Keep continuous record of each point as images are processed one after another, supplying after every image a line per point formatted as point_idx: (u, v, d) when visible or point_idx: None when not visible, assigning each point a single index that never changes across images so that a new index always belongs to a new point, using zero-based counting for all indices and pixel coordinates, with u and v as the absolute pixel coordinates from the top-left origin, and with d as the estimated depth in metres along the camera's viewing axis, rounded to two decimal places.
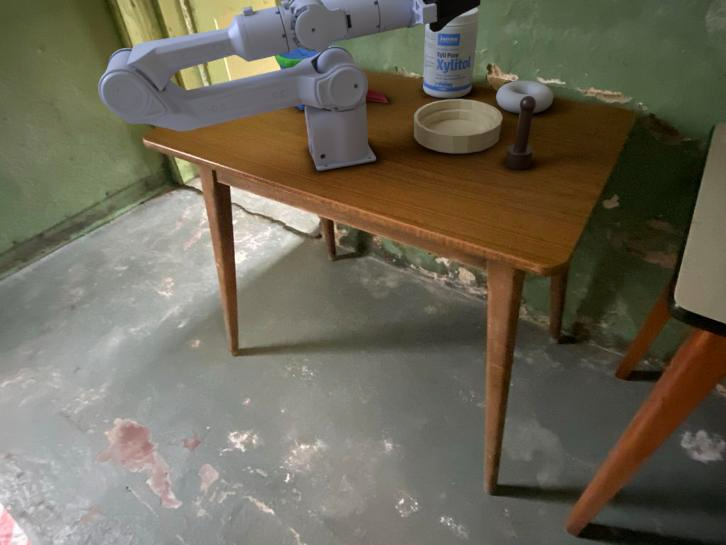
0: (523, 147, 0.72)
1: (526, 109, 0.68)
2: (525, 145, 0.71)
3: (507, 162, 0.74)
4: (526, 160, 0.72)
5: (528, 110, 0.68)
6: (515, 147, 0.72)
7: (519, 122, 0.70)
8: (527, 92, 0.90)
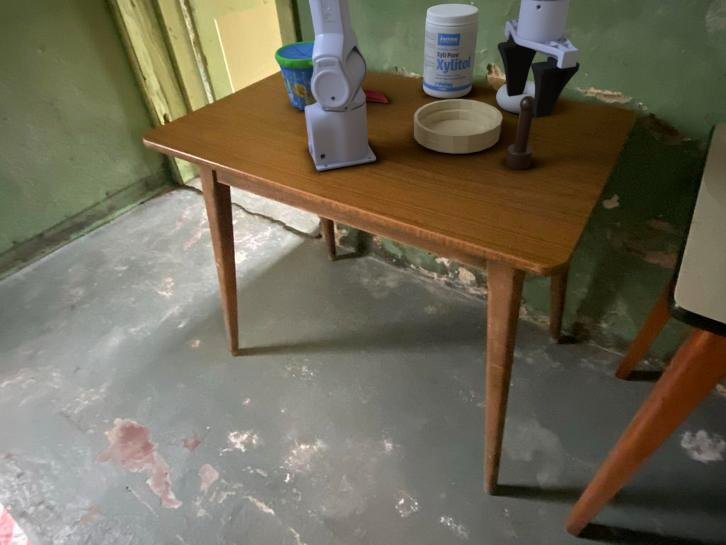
0: (523, 147, 0.72)
1: (526, 109, 0.68)
2: (525, 145, 0.71)
3: (507, 162, 0.74)
4: (526, 160, 0.72)
5: (528, 110, 0.68)
6: (515, 147, 0.72)
7: (519, 122, 0.70)
8: (527, 92, 0.90)
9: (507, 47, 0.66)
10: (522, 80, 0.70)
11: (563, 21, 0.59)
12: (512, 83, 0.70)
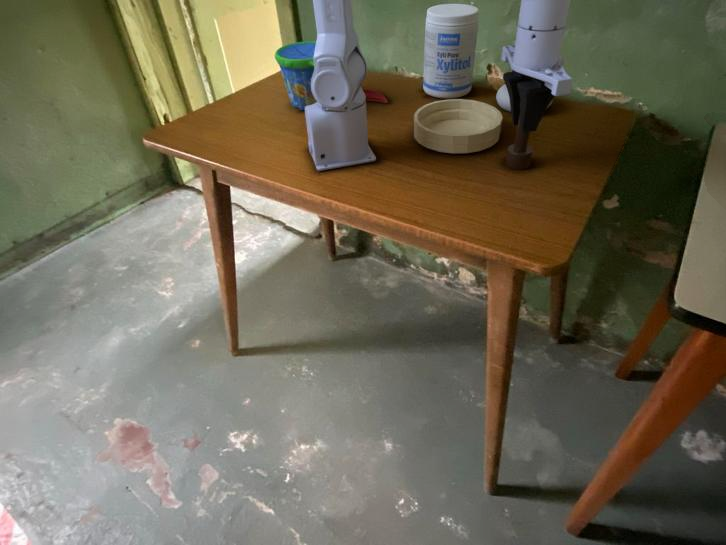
0: (523, 147, 0.72)
1: None
2: (525, 145, 0.71)
3: (507, 162, 0.74)
4: (526, 160, 0.72)
5: None
6: (515, 147, 0.72)
7: (519, 122, 0.70)
8: None
9: (512, 77, 0.67)
10: None
11: (557, 50, 0.61)
12: (517, 112, 0.70)
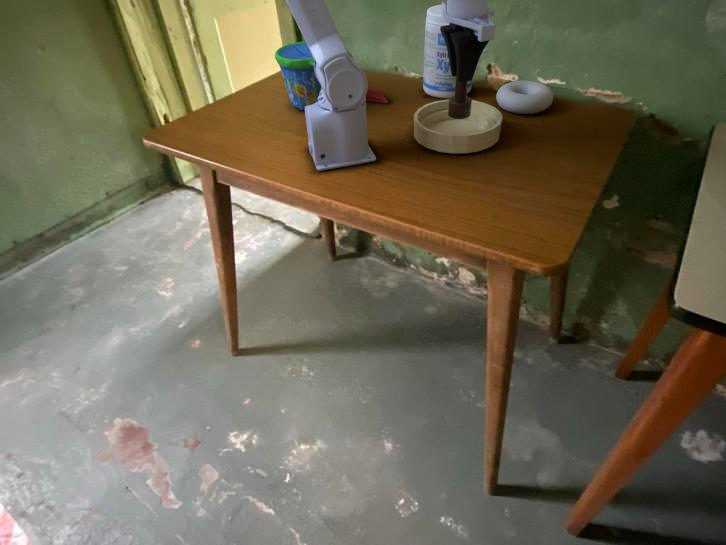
0: (462, 97, 0.77)
1: None
2: (464, 95, 0.77)
3: (449, 112, 0.79)
4: (465, 109, 0.77)
5: None
6: (455, 97, 0.78)
7: None
8: (527, 92, 0.90)
9: (447, 29, 0.72)
10: None
11: (484, 0, 0.67)
12: (455, 64, 0.75)
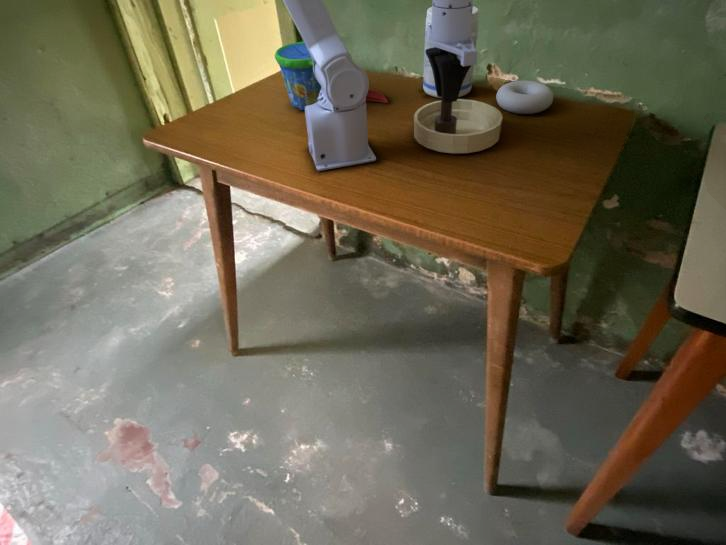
0: (447, 117, 0.79)
1: None
2: (449, 115, 0.79)
3: None
4: (450, 128, 0.80)
5: None
6: (441, 117, 0.80)
7: None
8: (527, 92, 0.90)
9: (432, 52, 0.74)
10: None
11: (467, 26, 0.69)
12: (440, 85, 0.78)
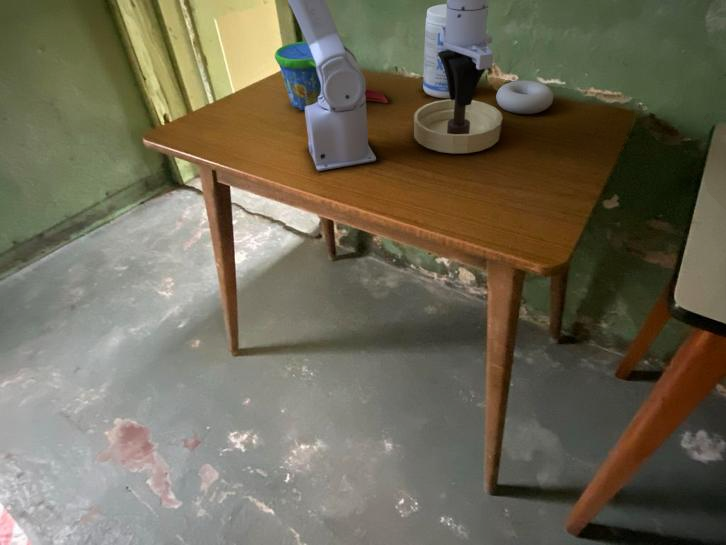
0: (461, 120, 0.78)
1: None
2: (462, 118, 0.78)
3: None
4: (464, 132, 0.78)
5: None
6: (454, 120, 0.78)
7: None
8: (527, 92, 0.90)
9: (446, 55, 0.73)
10: None
11: (482, 28, 0.68)
12: (453, 88, 0.76)
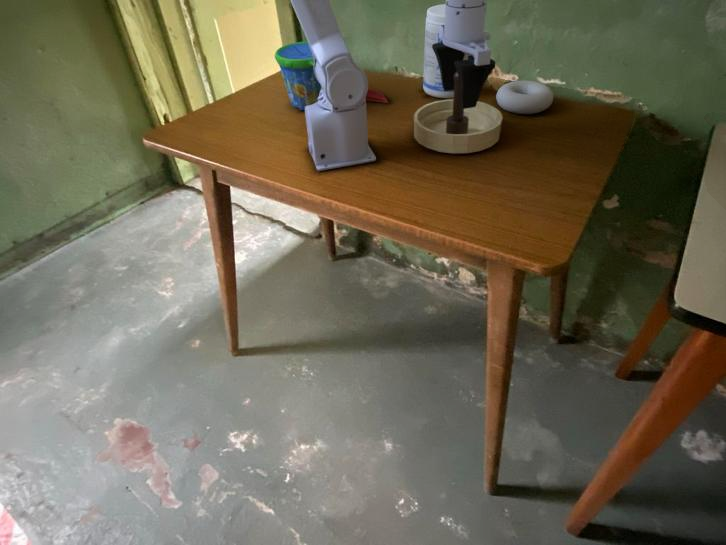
0: (459, 117, 0.79)
1: (459, 81, 0.76)
2: (461, 115, 0.79)
3: (446, 131, 0.81)
4: (462, 128, 0.80)
5: None
6: (453, 117, 0.80)
7: (454, 94, 0.77)
8: (527, 92, 0.90)
9: (439, 47, 0.76)
10: None
11: (480, 25, 0.69)
12: (446, 79, 0.79)
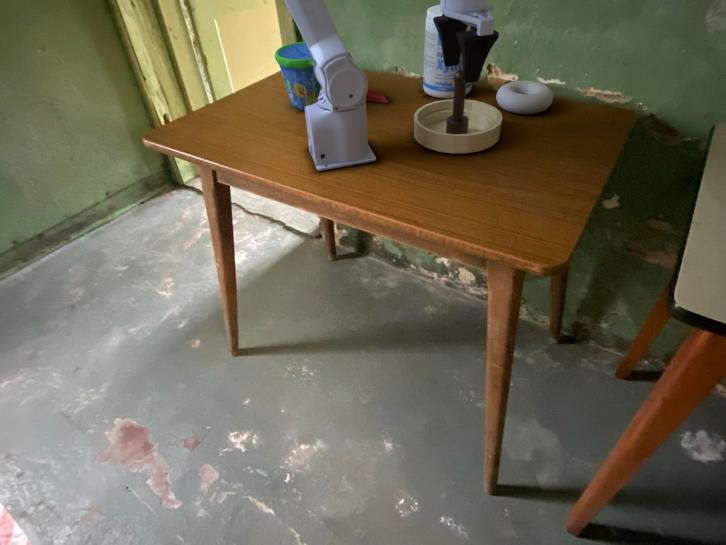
0: (459, 117, 0.79)
1: (459, 81, 0.76)
2: (461, 115, 0.79)
3: (446, 131, 0.81)
4: (462, 128, 0.80)
5: (460, 82, 0.76)
6: (453, 117, 0.80)
7: (454, 94, 0.77)
8: (527, 92, 0.90)
9: (440, 20, 0.74)
10: (457, 51, 0.77)
11: None
12: (448, 54, 0.77)
